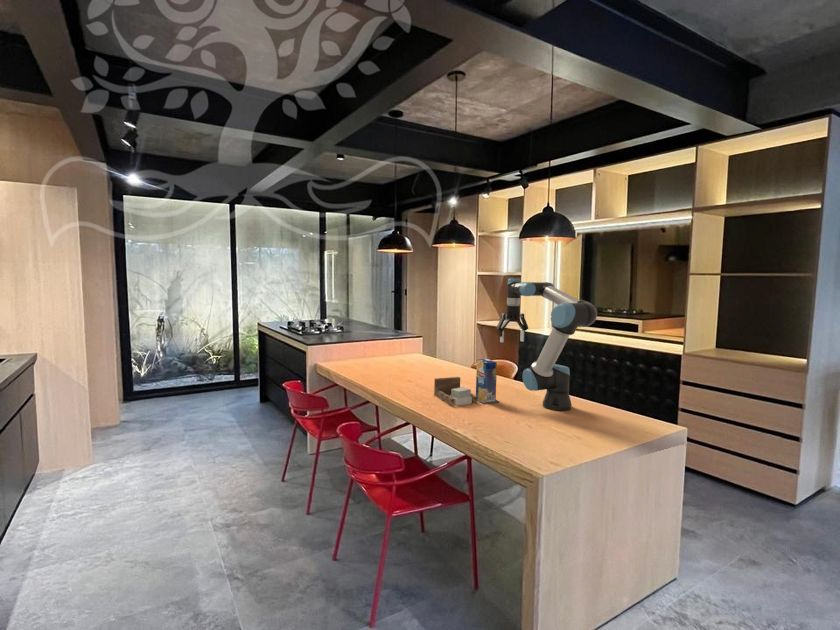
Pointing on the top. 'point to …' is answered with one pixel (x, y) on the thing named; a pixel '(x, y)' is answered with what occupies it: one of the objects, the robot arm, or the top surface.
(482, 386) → the beverage box
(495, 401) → the mat
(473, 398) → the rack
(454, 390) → the offcut top
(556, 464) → the top surface
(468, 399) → the offcut low
